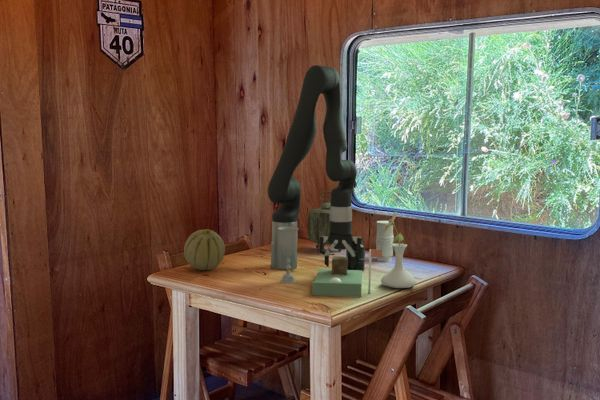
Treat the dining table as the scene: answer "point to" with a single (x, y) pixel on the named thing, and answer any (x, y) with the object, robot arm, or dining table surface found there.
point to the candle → (384, 241)
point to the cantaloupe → (204, 249)
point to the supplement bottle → (359, 258)
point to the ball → (335, 280)
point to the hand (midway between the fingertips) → (339, 266)
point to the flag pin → (371, 254)
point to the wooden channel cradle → (339, 265)
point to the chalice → (288, 249)
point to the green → (337, 283)
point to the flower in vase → (397, 264)
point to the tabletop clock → (319, 222)
